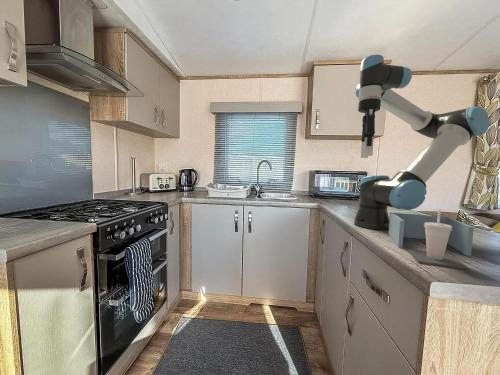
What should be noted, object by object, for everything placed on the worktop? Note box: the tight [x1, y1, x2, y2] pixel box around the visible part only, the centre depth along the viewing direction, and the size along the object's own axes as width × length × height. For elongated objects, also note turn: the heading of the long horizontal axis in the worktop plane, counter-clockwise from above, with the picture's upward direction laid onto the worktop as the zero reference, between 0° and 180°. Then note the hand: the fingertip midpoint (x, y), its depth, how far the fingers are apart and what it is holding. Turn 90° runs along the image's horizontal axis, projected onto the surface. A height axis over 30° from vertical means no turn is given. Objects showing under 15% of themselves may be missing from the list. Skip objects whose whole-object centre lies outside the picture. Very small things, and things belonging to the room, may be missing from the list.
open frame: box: [388, 212, 475, 257], centre depth 82 cm, size 17×19×9 cm
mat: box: [407, 248, 469, 271], centre depth 68 cm, size 11×11×1 cm
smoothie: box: [424, 209, 452, 260], centre depth 67 cm, size 6×6×14 cm
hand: (366, 157), depth 89 cm, fingers open, 13 cm apart
